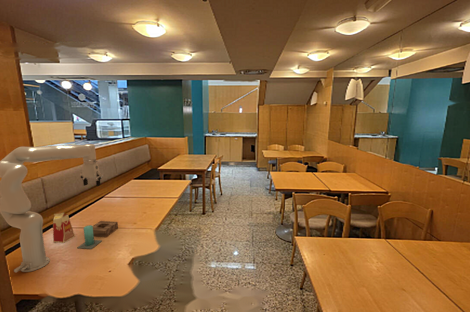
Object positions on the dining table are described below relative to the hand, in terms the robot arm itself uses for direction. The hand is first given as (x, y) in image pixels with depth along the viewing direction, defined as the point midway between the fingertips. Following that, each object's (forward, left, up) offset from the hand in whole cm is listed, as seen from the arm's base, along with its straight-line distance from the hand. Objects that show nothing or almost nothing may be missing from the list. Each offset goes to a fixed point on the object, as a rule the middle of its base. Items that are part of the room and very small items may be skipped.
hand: (92, 185), depth 157 cm
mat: (-15, -7, -36) cm, 40 cm away
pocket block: (+2, -4, -36) cm, 37 cm away
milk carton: (-11, +16, -36) cm, 41 cm away
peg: (-15, -7, -36) cm, 39 cm away
